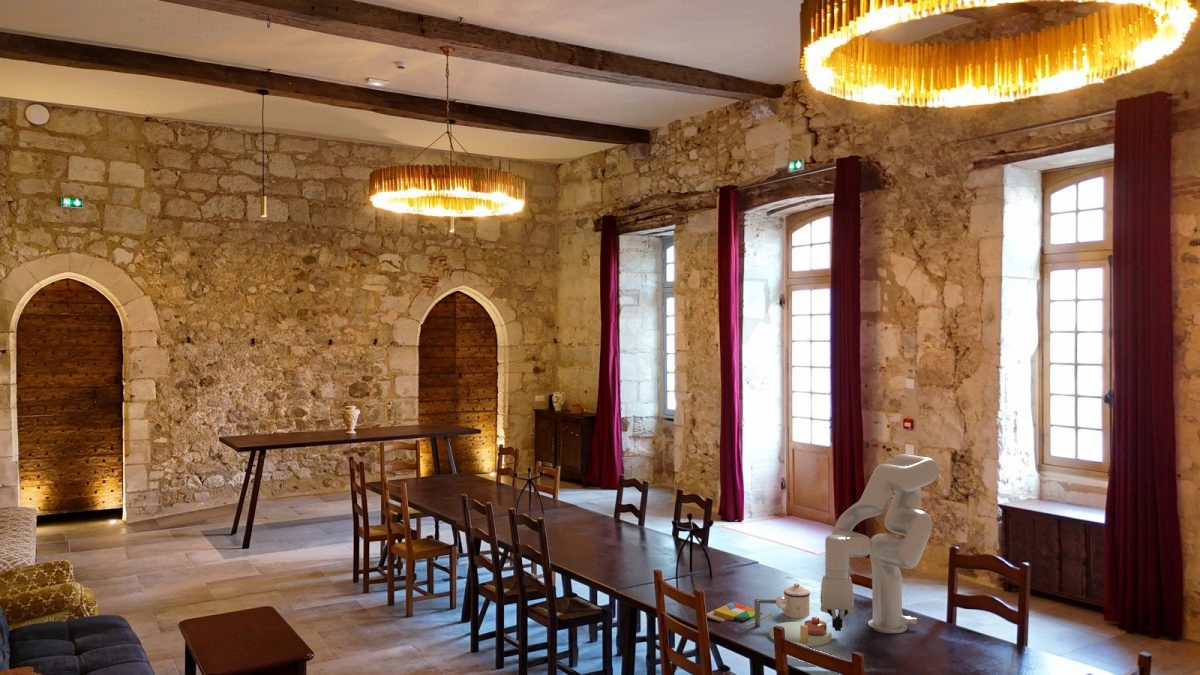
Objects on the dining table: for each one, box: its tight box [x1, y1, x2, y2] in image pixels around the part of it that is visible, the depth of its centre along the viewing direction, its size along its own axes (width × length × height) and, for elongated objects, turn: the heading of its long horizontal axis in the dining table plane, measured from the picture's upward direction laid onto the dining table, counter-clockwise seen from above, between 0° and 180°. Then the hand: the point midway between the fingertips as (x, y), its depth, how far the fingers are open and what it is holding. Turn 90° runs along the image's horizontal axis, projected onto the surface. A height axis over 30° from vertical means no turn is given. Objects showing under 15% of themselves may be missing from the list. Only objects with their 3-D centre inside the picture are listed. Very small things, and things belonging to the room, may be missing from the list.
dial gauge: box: [753, 596, 787, 628], centre depth 292 cm, size 12×5×11 cm, turn 85°
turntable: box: [768, 621, 833, 648], centre depth 282 cm, size 20×20×6 cm
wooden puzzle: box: [706, 601, 772, 627], centre depth 305 cm, size 18×19×4 cm
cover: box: [804, 616, 828, 636], centre depth 282 cm, size 7×7×5 cm
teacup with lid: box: [780, 582, 811, 619], centre depth 304 cm, size 12×9×12 cm
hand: (837, 629), depth 281 cm, fingers closed
